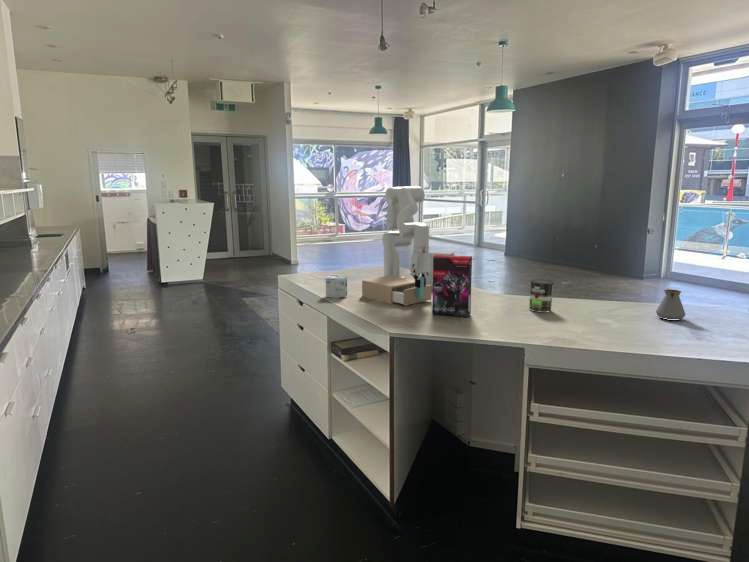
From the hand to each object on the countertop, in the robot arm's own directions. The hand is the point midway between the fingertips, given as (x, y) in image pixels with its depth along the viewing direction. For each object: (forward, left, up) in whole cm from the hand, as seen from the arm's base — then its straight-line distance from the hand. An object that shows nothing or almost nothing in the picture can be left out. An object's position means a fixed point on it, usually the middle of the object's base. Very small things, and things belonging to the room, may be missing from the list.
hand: (420, 286), depth 253 cm
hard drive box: (-41, -23, -10) cm, 48 cm away
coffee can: (-35, +46, -9) cm, 58 cm away
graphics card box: (+3, +22, -10) cm, 25 cm away
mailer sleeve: (0, -21, -9) cm, 23 cm away
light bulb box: (+20, -41, -10) cm, 47 cm away
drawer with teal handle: (0, -11, -8) cm, 14 cm away
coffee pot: (-60, +94, -10) cm, 111 cm away
